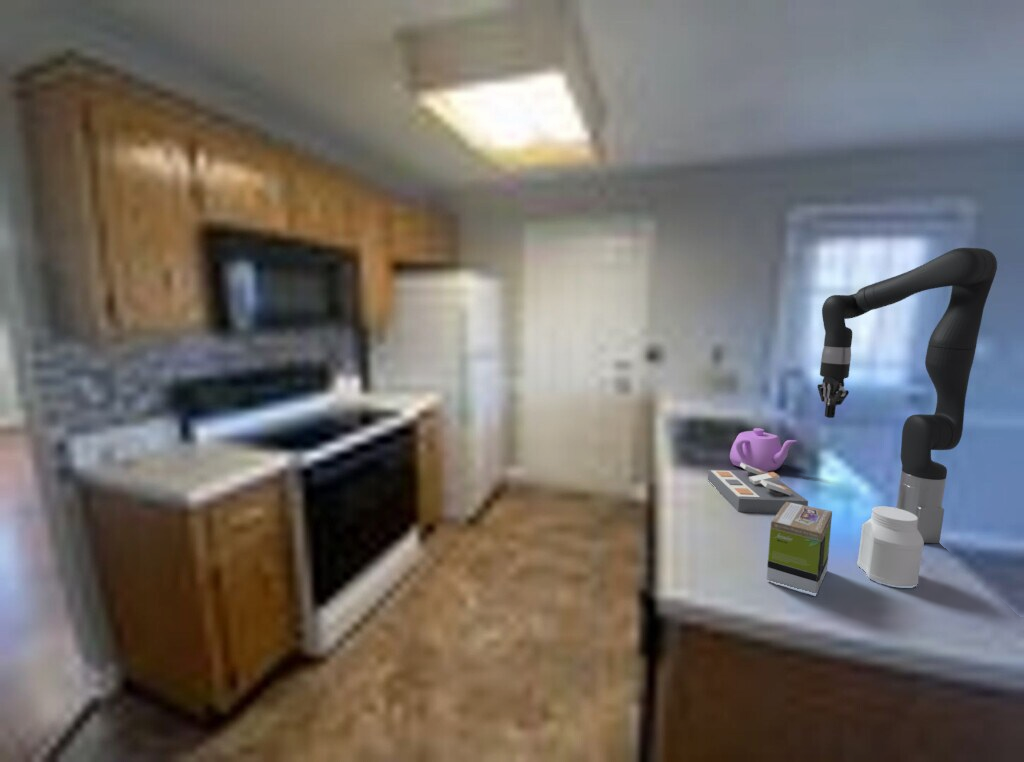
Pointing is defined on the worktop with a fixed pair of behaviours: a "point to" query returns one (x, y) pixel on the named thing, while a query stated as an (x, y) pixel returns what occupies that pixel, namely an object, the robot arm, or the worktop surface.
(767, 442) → the teapot
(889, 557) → the jar
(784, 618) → the worktop surface
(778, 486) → the rocker
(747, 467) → the rocker
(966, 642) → the worktop surface
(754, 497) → the switch panel
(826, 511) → the tea box
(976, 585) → the worktop surface
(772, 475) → the rocker
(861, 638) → the worktop surface
